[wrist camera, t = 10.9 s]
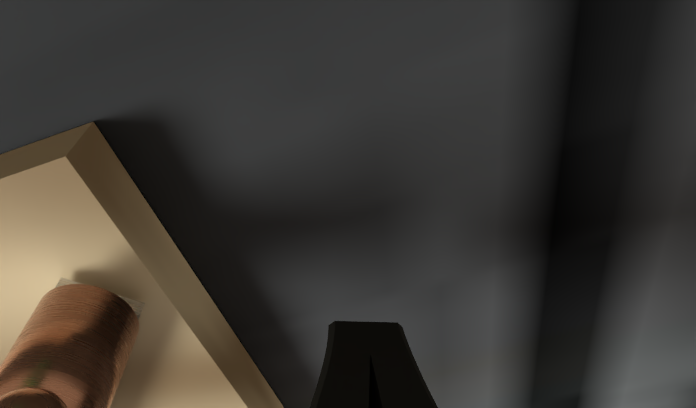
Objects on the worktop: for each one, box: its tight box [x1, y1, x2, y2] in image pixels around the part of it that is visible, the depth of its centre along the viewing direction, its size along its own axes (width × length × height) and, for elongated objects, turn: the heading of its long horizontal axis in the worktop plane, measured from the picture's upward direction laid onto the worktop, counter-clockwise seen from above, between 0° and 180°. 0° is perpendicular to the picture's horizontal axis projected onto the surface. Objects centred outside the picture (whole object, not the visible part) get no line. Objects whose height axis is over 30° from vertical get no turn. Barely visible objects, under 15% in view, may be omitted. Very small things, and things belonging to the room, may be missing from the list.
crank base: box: [0, 122, 284, 408], centre depth 15 cm, size 12×11×2 cm
